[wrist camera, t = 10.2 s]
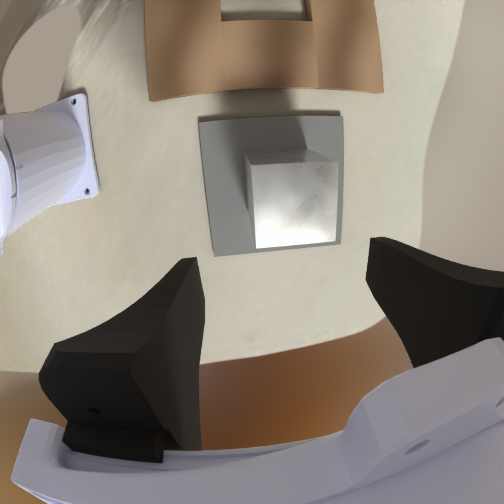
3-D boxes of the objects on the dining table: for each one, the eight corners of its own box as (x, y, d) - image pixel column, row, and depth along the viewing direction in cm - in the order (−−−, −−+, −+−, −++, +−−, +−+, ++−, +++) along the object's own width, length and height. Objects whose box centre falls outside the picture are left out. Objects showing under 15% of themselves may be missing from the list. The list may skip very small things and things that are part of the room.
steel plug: (248, 212, 21) (256, 248, 15) (243, 151, 19) (250, 165, 13) (307, 207, 21) (335, 241, 16) (307, 148, 19) (338, 161, 14)
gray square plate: (214, 254, 22) (214, 256, 22) (199, 122, 18) (198, 122, 18) (338, 242, 23) (340, 244, 23) (341, 116, 18) (343, 116, 18)
